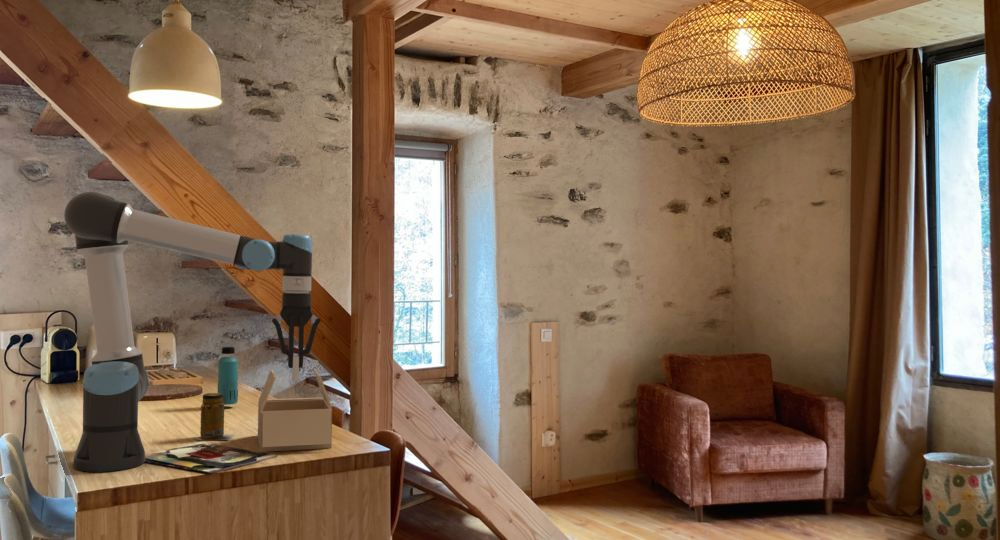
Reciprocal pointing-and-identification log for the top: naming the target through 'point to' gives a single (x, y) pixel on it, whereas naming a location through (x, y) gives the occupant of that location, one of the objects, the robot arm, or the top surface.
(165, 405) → the top surface
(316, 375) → the right flap
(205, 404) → the condiment
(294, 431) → the near flap
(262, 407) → the left flap
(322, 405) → the carton
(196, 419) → the top surface
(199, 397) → the top surface
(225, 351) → the beverage bottle
